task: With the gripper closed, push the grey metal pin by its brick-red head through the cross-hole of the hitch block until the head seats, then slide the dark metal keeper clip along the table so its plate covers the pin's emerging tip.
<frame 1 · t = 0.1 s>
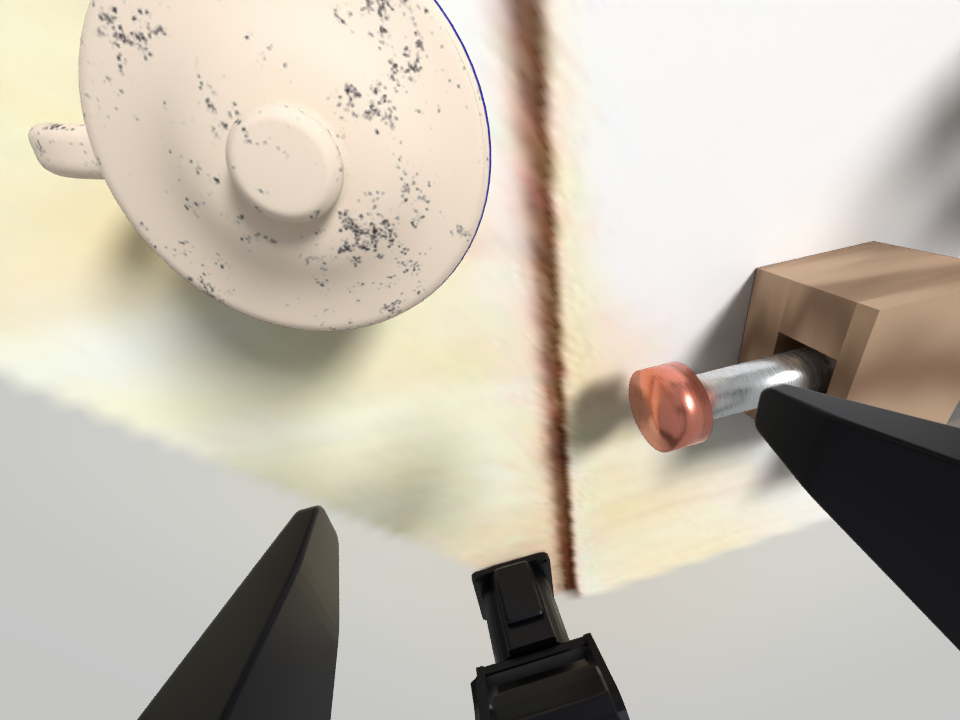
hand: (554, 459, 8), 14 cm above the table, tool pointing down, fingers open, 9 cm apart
hitch block: (796, 327, 27), on the table
pin: (765, 380, 23), point 4 cm above the table, slide at 7.0 cm
teacup with lid: (309, 151, 17), on the table
keeper clip: (902, 424, 29), point 3 cm above the table, slide at 0.0 cm
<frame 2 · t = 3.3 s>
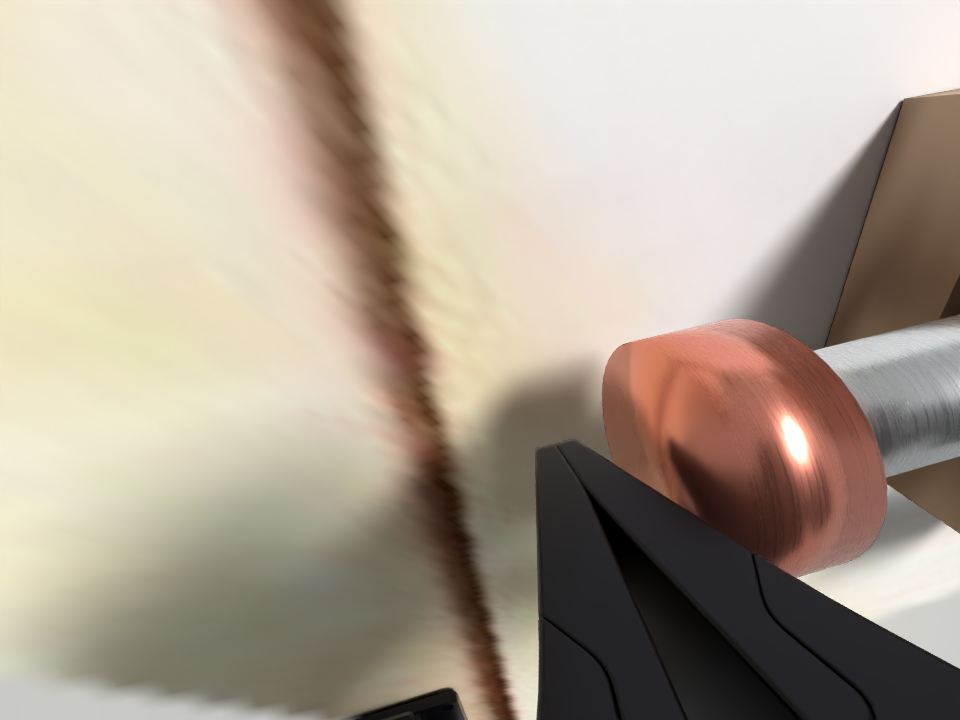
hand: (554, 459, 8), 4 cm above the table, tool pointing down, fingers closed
hitch block: (955, 268, 12), on the table
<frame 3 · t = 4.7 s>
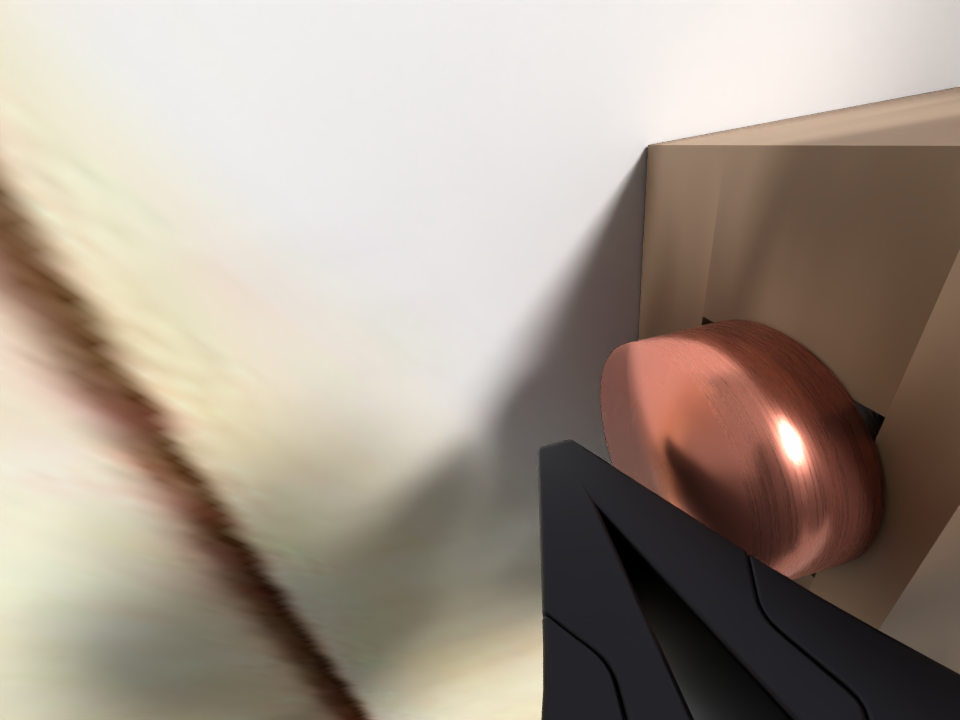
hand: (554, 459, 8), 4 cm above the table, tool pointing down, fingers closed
hitch block: (765, 312, 12), on the table
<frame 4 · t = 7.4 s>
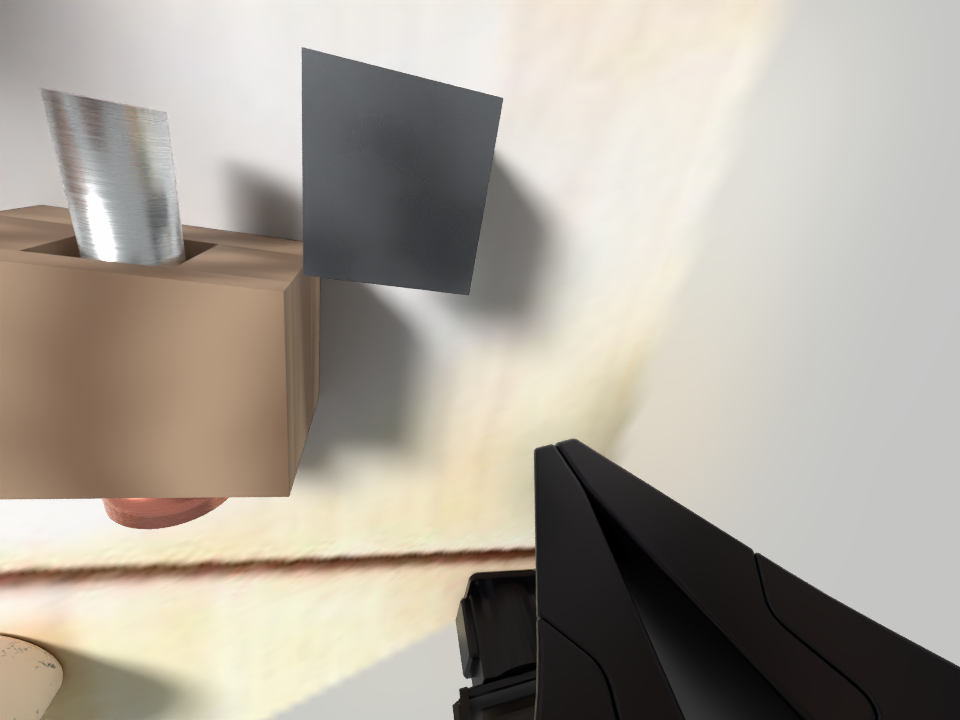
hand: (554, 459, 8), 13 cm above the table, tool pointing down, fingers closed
hitch block: (202, 316, 18), on the table
pin: (150, 333, 14), point 4 cm above the table, slide at 0.0 cm
keeper clip: (397, 183, 14), point 3 cm above the table, slide at 0.0 cm
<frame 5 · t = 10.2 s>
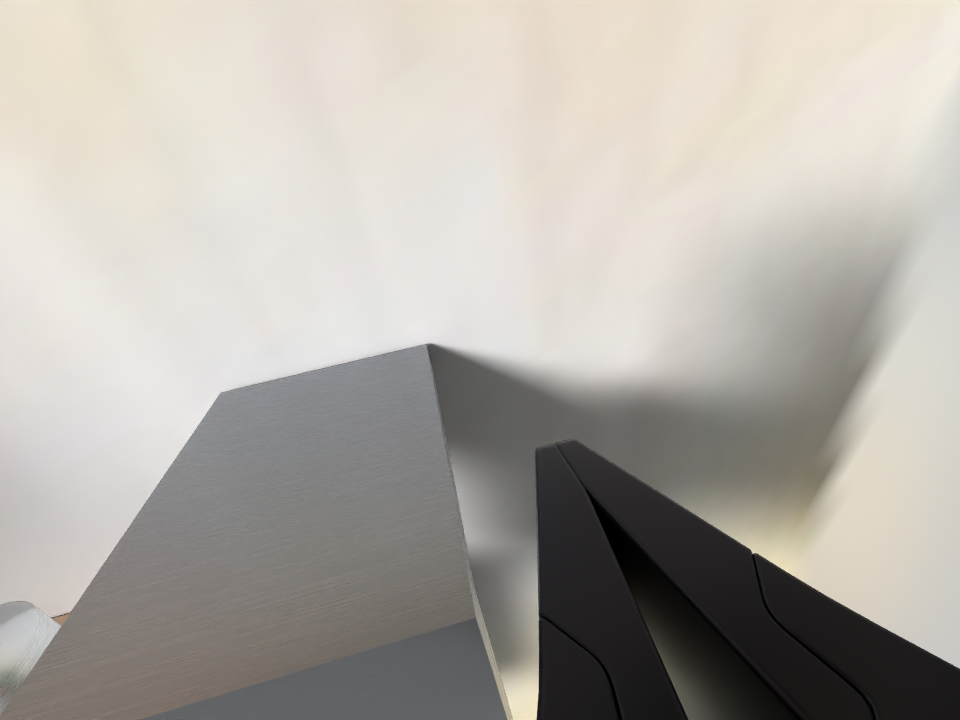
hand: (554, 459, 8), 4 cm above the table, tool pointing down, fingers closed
keeper clip: (350, 558, 8), point 3 cm above the table, slide at 1.5 cm, touching gripper
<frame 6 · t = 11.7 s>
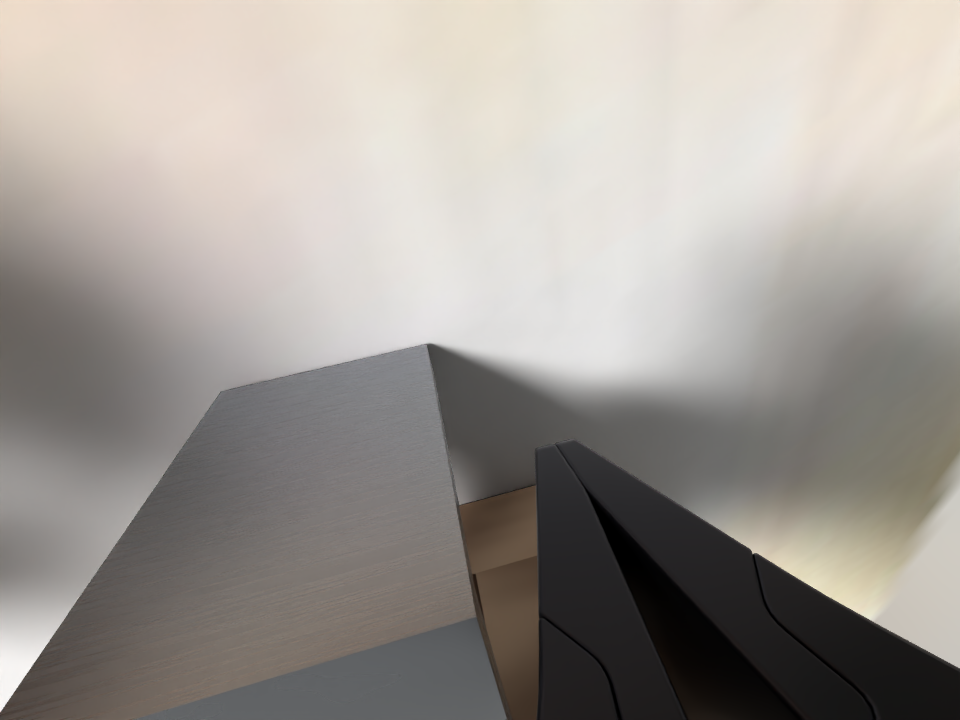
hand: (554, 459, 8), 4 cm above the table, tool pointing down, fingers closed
hitch block: (434, 591, 15), on the table
keeper clip: (349, 558, 8), point 3 cm above the table, slide at 8.5 cm, touching gripper
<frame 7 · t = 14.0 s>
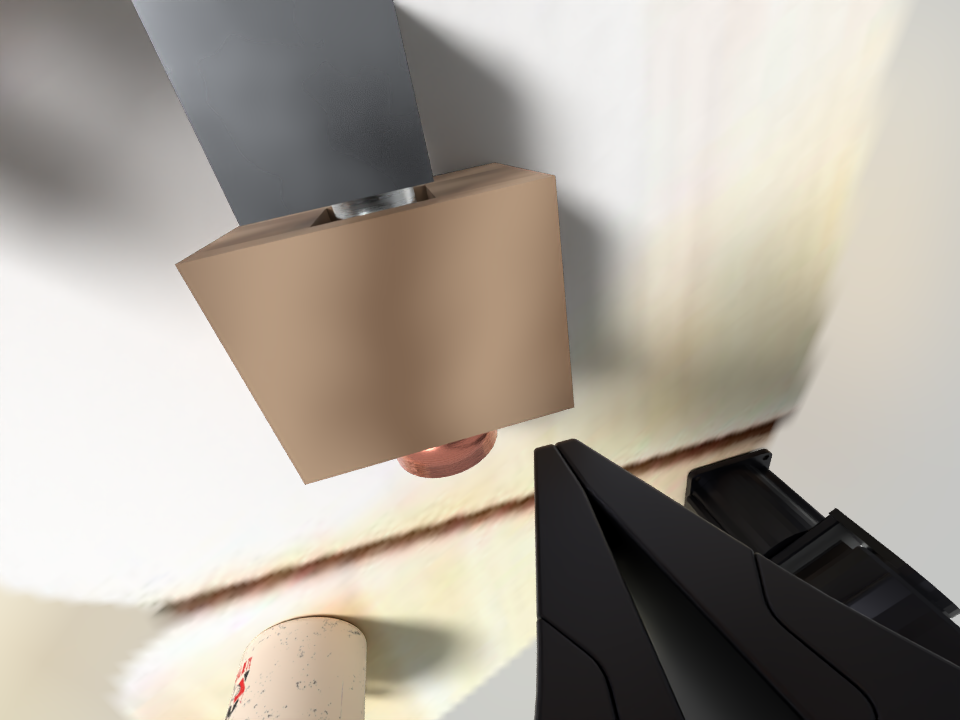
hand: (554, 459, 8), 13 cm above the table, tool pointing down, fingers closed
hitch block: (404, 281, 18), on the table
pin: (401, 291, 14), point 4 cm above the table, slide at 0.0 cm
teacup with lid: (312, 655, 31), on the table
keeper clip: (316, 89, 12), point 3 cm above the table, slide at 8.7 cm
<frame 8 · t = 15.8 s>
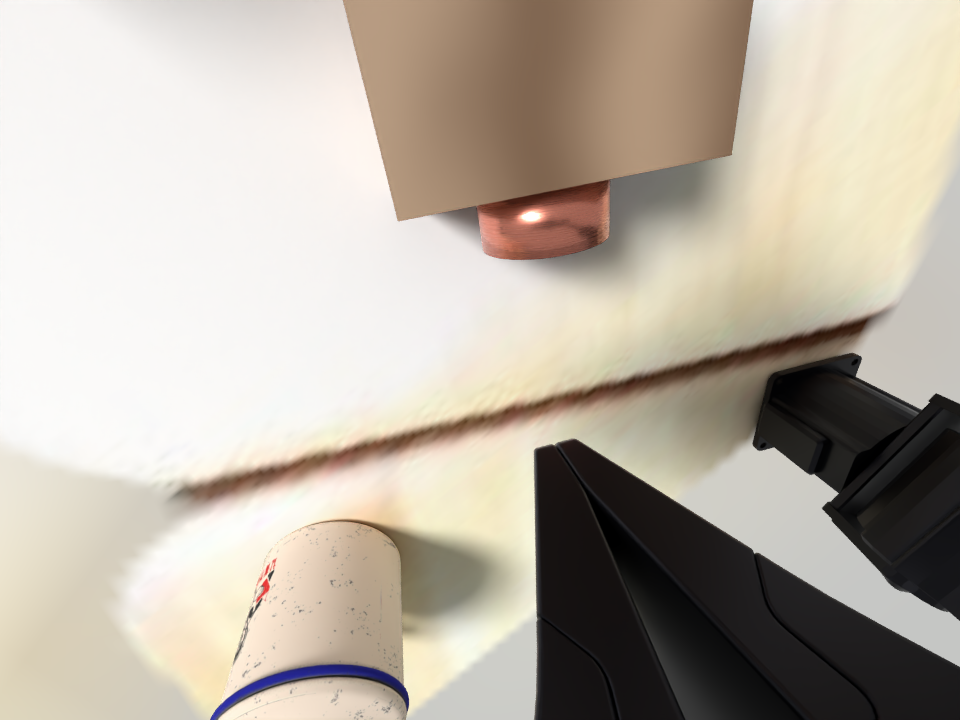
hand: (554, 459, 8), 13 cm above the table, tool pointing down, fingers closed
hitch block: (496, 59, 15), on the table
teacup with lid: (338, 574, 28), on the table
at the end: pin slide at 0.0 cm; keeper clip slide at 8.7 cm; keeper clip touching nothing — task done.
